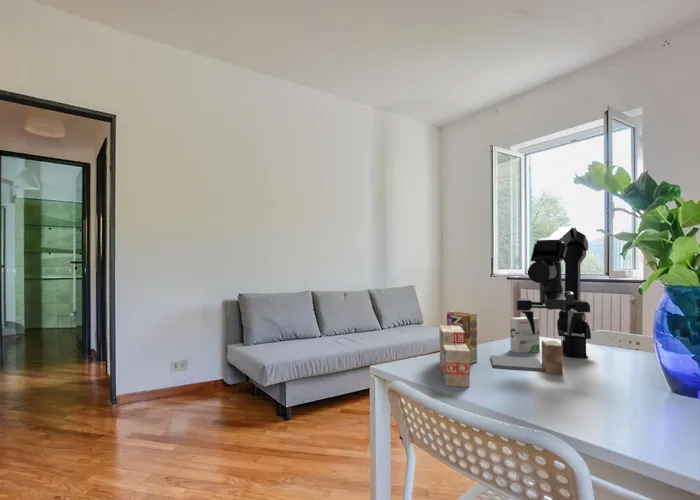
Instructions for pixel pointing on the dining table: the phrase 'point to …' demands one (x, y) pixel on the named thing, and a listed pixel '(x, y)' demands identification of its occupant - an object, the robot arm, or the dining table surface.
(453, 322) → the candy box
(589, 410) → the dining table surface
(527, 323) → the ink box
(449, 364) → the stack of blocks
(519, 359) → the rubber mat
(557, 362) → the cream panel wooden box
